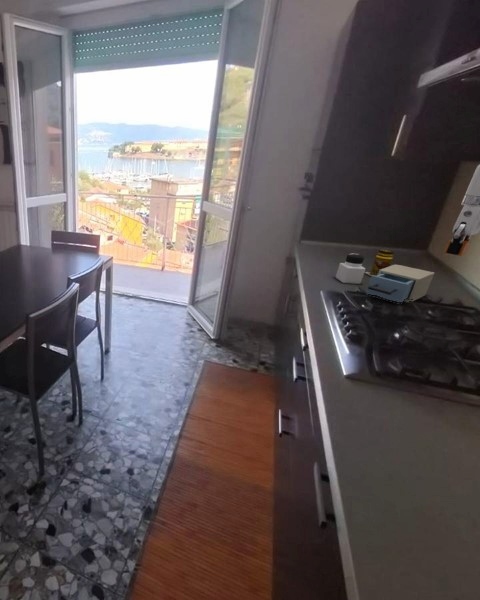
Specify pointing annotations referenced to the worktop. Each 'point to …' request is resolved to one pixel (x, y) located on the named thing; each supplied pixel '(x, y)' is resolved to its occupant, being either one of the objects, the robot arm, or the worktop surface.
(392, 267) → the small drawer box
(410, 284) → the blue drawer
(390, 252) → the condiment
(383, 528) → the worktop surface
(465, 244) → the orange cube
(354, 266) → the medicine bottle
